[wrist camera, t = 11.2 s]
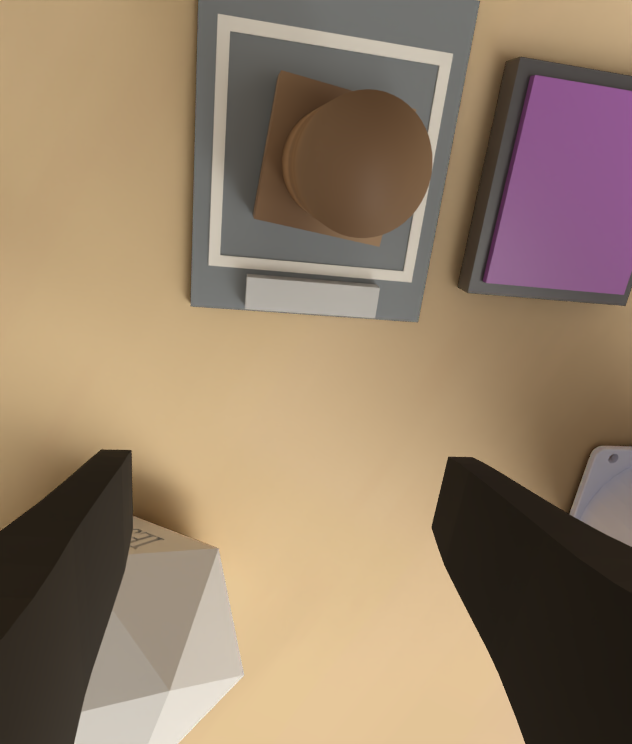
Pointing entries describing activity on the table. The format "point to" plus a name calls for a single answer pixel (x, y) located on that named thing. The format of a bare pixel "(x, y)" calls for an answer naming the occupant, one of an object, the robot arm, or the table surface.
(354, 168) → the stamp
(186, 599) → the die
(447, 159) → the grey framed plate
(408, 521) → the table surface
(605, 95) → the ink pad
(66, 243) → the table surface
